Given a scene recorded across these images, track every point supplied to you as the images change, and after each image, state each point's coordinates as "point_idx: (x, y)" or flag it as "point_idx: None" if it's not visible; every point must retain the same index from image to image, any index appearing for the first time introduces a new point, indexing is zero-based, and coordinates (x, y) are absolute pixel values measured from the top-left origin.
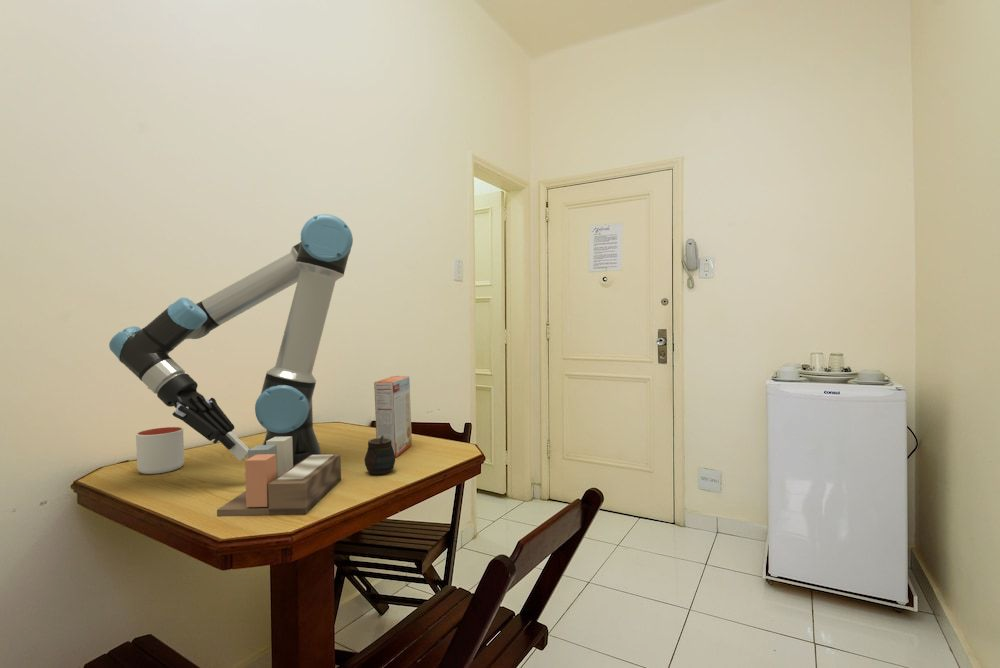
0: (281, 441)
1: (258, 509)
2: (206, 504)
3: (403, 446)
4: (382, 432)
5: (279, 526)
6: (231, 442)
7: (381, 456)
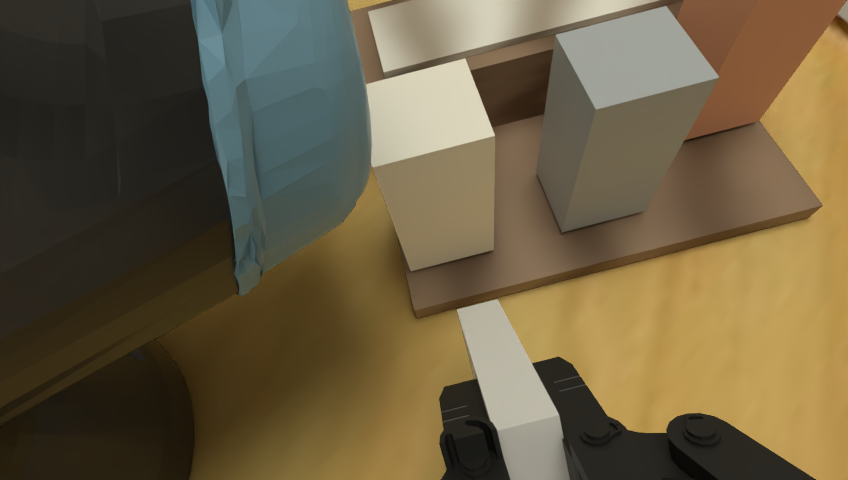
0: (469, 71)
1: None
2: (748, 359)
3: None
4: None
5: None
6: (558, 373)
7: None
